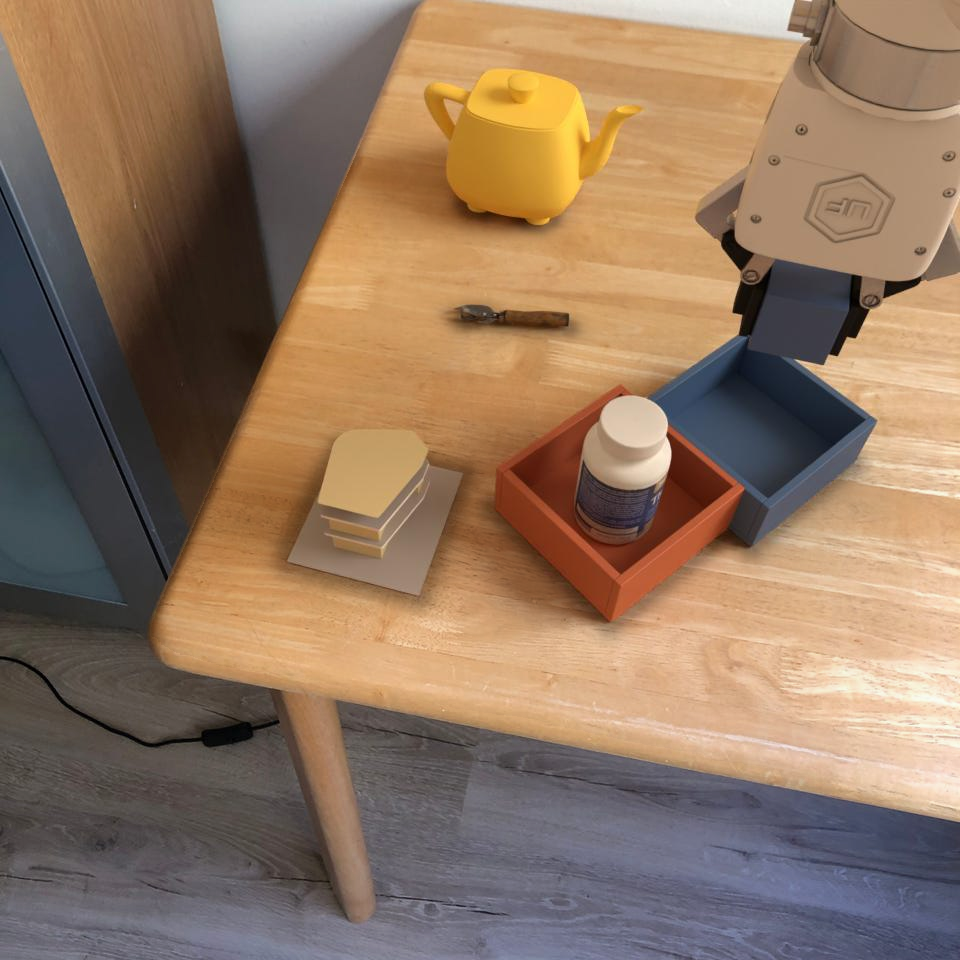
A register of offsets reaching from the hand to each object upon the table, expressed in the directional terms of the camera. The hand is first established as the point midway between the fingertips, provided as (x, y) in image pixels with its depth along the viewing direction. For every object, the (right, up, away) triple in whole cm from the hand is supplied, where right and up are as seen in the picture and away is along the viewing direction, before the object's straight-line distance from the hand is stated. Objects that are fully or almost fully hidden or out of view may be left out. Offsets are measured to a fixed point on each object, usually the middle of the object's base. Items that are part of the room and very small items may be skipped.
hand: (790, 327), depth 58 cm
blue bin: (0, -7, +10) cm, 12 cm away
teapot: (-15, +16, +26) cm, 34 cm away
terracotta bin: (-10, -12, +7) cm, 17 cm away
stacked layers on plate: (-26, -12, +6) cm, 29 cm away
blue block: (0, 0, 0) cm, 0 cm away
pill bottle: (-10, -11, +6) cm, 16 cm away
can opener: (-16, +3, +17) cm, 24 cm away
